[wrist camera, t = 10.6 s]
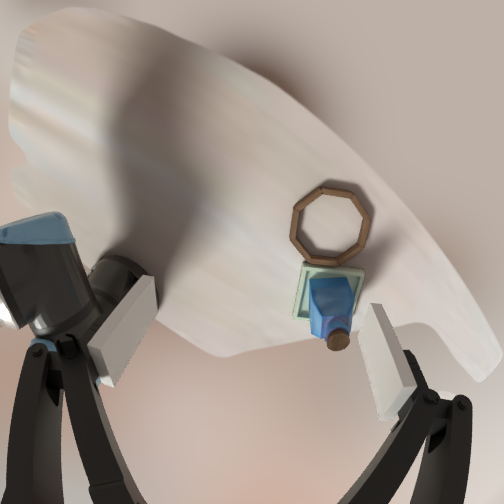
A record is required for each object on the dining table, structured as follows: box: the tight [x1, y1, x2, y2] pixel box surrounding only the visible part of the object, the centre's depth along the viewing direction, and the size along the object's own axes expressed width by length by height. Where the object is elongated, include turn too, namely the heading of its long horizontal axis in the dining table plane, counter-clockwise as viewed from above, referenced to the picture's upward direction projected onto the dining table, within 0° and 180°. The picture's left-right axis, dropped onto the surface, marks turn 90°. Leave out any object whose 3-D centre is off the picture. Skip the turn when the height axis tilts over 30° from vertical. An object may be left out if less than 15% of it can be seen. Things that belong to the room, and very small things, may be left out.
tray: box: [293, 262, 365, 321], centre depth 45 cm, size 10×10×2 cm
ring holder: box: [289, 187, 371, 267], centre depth 41 cm, size 12×12×1 cm
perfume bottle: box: [309, 277, 355, 351], centre depth 40 cm, size 6×6×12 cm
